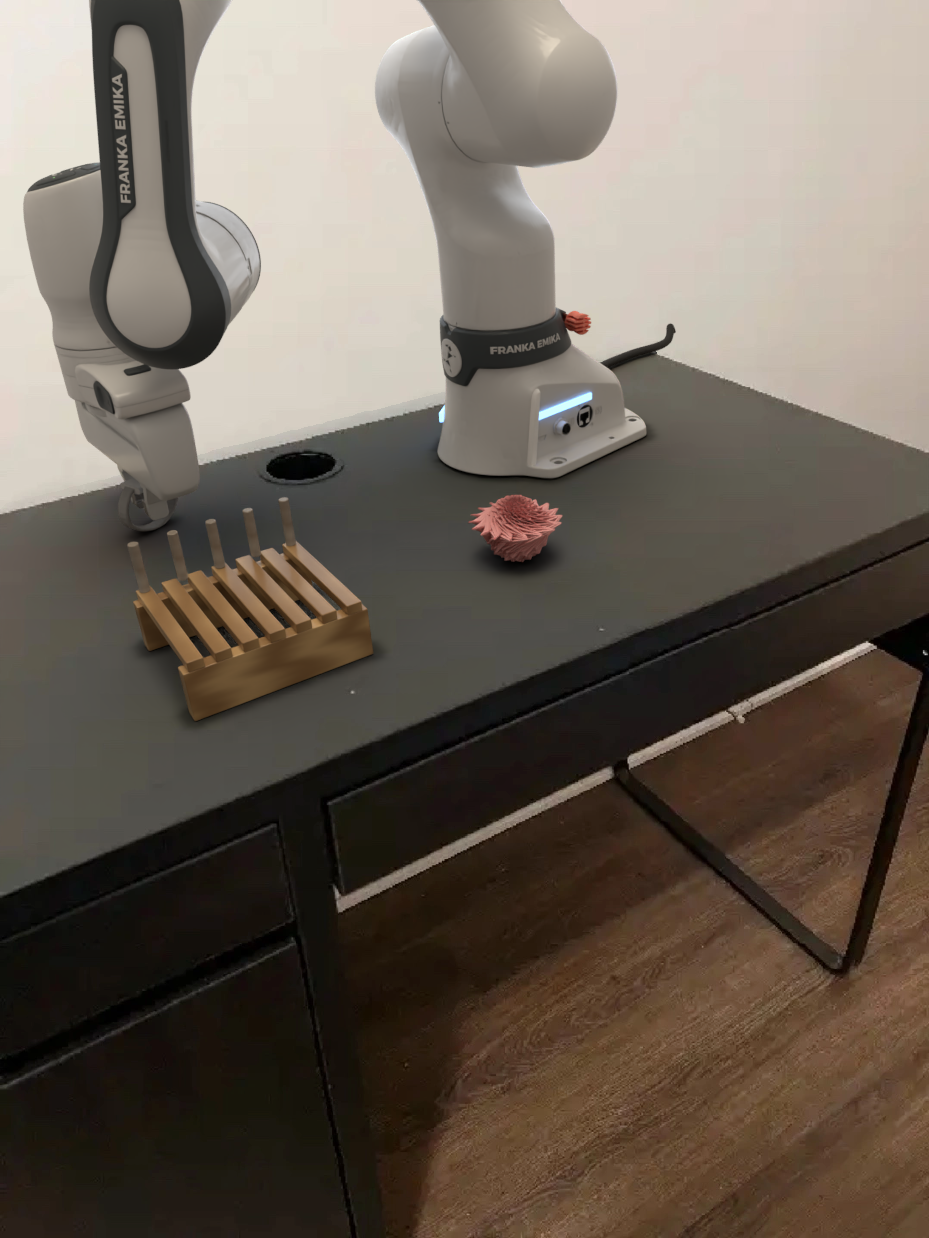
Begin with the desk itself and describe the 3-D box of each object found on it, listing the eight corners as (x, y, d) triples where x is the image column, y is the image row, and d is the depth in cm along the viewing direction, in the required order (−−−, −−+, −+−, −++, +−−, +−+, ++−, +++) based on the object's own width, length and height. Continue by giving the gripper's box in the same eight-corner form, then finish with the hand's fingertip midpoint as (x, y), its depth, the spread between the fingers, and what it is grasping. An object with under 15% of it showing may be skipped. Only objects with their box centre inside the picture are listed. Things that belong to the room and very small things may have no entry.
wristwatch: (138, 544, 95) (125, 494, 92) (119, 537, 96) (105, 488, 94) (188, 517, 99) (177, 469, 97) (169, 511, 101) (158, 464, 98)
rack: (308, 589, 86) (292, 493, 81) (373, 654, 77) (360, 550, 73) (144, 644, 80) (117, 545, 76) (195, 721, 71) (167, 614, 67)
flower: (454, 568, 87) (450, 509, 84) (496, 528, 93) (493, 471, 90) (539, 586, 84) (537, 525, 81) (577, 543, 90) (577, 485, 87)
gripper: (42, 350, 95) (80, 486, 103) (123, 406, 81) (161, 559, 88) (107, 335, 98) (141, 468, 106) (197, 386, 84) (228, 535, 91)
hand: (150, 510), depth 97 cm, fingers closed on wristwatch, 2 cm apart
